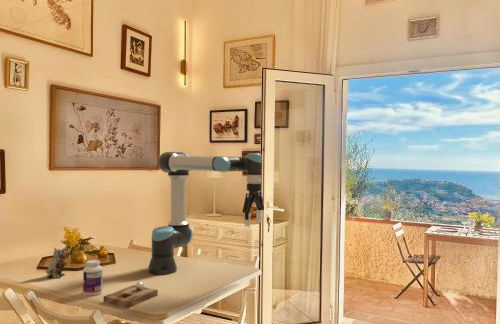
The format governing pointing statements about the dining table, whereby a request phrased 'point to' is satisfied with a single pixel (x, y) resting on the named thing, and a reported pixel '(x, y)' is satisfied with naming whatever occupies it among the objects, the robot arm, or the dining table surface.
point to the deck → (130, 296)
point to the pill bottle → (92, 278)
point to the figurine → (57, 264)
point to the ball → (139, 285)
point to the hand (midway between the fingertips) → (253, 224)
